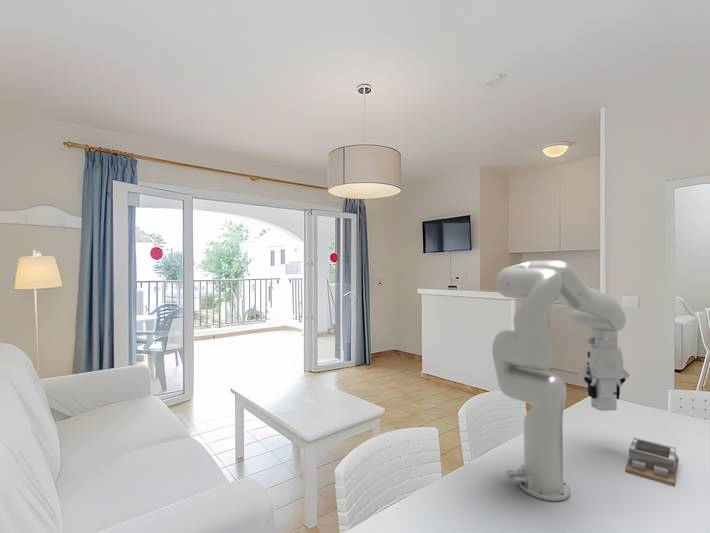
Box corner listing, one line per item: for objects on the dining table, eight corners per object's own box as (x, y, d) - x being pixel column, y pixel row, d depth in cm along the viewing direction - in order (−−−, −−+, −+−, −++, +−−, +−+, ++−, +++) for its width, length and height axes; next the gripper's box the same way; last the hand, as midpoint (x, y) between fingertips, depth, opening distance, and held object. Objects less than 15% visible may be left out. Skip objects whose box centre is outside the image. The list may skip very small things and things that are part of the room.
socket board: (674, 486, 103) (674, 468, 103) (625, 471, 110) (625, 454, 110) (678, 458, 118) (678, 442, 118) (634, 447, 125) (634, 432, 125)
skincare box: (600, 411, 121) (600, 373, 122) (590, 406, 126) (590, 369, 126) (617, 410, 122) (617, 373, 122) (606, 405, 127) (606, 369, 127)
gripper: (583, 344, 121) (583, 400, 121) (638, 345, 120) (639, 402, 120) (570, 340, 129) (570, 393, 128) (623, 341, 128) (623, 394, 127)
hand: (603, 397), depth 124 cm, fingers closed on skincare box, 6 cm apart
